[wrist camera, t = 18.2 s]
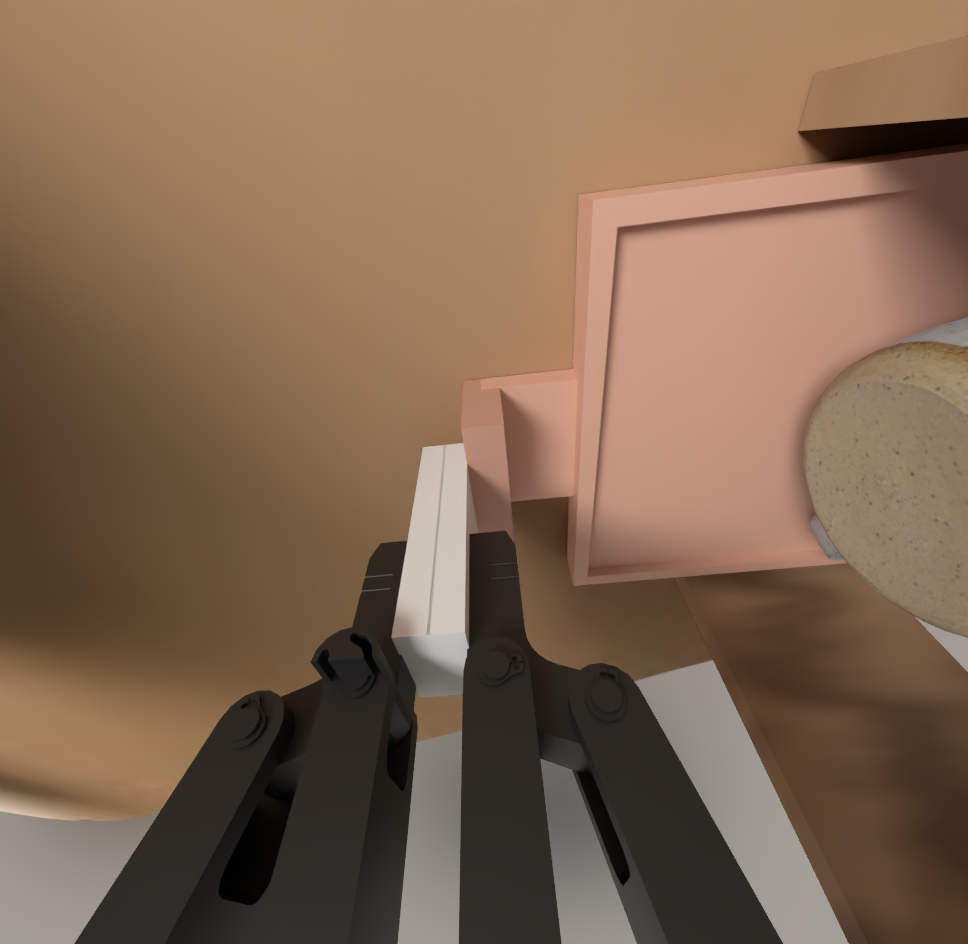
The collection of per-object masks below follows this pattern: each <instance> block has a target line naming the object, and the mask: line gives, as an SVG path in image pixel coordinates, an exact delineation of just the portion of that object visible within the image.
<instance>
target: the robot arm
mask: <svg viewBox="0 0 968 944" xmlns="http://www.w3.org/2000/svg"><path fill="white" fill-rule="evenodd" d="M365 576H366V579H364V583H363V587H362V593H361V595H360V599H359V603H358V607H357V611H356V615H355V619H354V623H353V627H352V628H348V629H344V630H340V631H338V632H337V633H335V634H333V635H332V636H330V637H329V638H327V639H326V640H325V641H324V642H323V643H322V645H321V646H320V647H319V648H318V649H317V651H316V652H315V654H314V656H313V658H312V660H311V663H312V665H313V666H314V667H315V669H316V670H317V671H318V672H319V674H320V675H321V676H322V679H321V680H319V681H317V682H315V683H313V684H311V685H309V686H306V687H304V688H301V689H299V690H297V691H294V692H292V693H289V694H287V695H285V696H282V697H280V696H279V695H277V694H275V693H274V692H272V691H270V690H269V691H256V692H254V693H251V694H249V695H246V696H244V697H243V698H241V699H240V700H239V701H237V702H236V703H235V704H234V705H232V706H231V707H230V708H229V709H228V711H227V712H226V713H225V714H224V715H223V717H222V718H221V719H220V720H219V722H218V724H217V725H216V727H215V728H214V730H213V731H212V733H211V734H210V736H209V737H208V739H207V740H206V742H205V744H204V745H203V747H202V748H201V750H200V751H199V753H198V754H197V756H196V757H195V759H194V760H193V762H192V764H191V765H190V767H189V768H188V770H187V771H186V773H185V774H184V776H183V777H182V779H181V780H180V782H179V784H178V785H177V787H176V788H175V790H174V791H173V793H172V794H171V796H170V797H169V799H168V800H167V802H166V804H165V805H164V807H163V808H162V810H161V811H160V813H159V815H158V816H157V817H156V819H155V820H154V822H153V824H152V825H151V827H150V828H149V830H148V831H147V833H146V834H145V836H144V837H143V839H142V841H141V842H140V844H139V845H138V847H137V848H136V850H135V851H134V853H133V854H132V856H131V857H130V859H129V861H128V862H127V864H126V865H125V867H124V868H123V870H122V871H121V873H120V874H119V876H118V877H117V879H116V881H115V882H114V884H113V885H112V887H111V888H110V890H109V892H108V893H107V894H106V896H105V897H104V899H103V901H102V902H101V904H100V905H99V907H98V908H97V910H96V911H95V913H94V915H93V916H92V917H91V919H90V921H89V922H88V924H87V925H86V927H85V928H84V930H83V931H82V933H81V935H80V936H79V938H78V939H77V941H76V942H75V944H397V942H398V931H399V921H400V920H399V919H400V909H401V899H402V888H403V877H404V867H405V857H406V845H407V835H408V824H409V814H410V813H409V812H410V802H411V792H412V781H413V771H414V760H415V750H416V749H415V748H416V739H417V728H418V727H417V716H416V714H415V712H414V702H415V692H416V690H417V692H418V695H419V697H420V698H425V697H438V696H453V695H463V723H462V787H461V850H460V912H459V944H561V936H560V928H559V919H558V910H557V901H556V893H555V884H554V875H553V867H552V859H551V849H550V840H549V831H548V823H547V814H546V805H545V797H544V788H543V779H542V770H541V762H540V758H541V759H544V760H546V761H549V762H552V763H555V764H558V765H561V766H564V767H567V768H569V769H572V770H573V773H574V776H575V779H576V781H577V784H578V787H579V789H580V792H581V795H582V797H583V800H584V803H585V805H586V808H587V811H588V813H589V816H590V819H591V821H592V824H593V827H594V829H595V832H596V835H597V837H598V840H599V843H600V845H601V848H602V851H603V853H604V856H605V859H606V861H607V864H608V867H609V869H610V872H611V875H612V877H613V880H614V883H615V885H616V888H617V890H618V894H619V896H620V899H621V901H622V904H623V907H624V910H625V912H626V914H627V917H628V920H629V923H630V925H631V928H632V931H633V934H634V936H635V939H636V941H637V944H783V943H782V941H781V939H780V937H779V936H778V934H777V932H776V930H775V929H774V927H773V925H772V923H771V921H770V920H769V918H768V916H767V914H766V913H765V911H764V909H763V907H762V905H761V904H760V902H759V900H758V898H757V897H756V895H755V893H754V891H753V890H752V888H751V886H750V884H749V882H748V881H747V879H746V877H745V875H744V874H743V872H742V870H741V868H740V867H739V865H738V863H737V861H736V859H735V858H734V856H733V854H732V852H731V851H730V849H729V847H728V845H727V843H726V842H725V840H724V838H723V836H722V835H721V833H720V831H719V829H718V827H717V826H716V824H715V822H714V820H713V819H712V817H711V815H710V814H709V812H708V810H707V808H706V806H705V804H704V803H703V801H702V799H701V797H700V796H699V794H698V792H697V790H696V788H695V787H694V785H693V783H692V781H691V780H690V778H689V776H688V774H687V773H686V771H685V769H684V767H683V765H682V764H681V762H680V760H679V758H678V757H677V755H676V753H675V751H674V749H673V748H672V746H671V744H670V742H669V741H668V739H667V737H666V735H665V734H664V732H663V730H662V728H661V726H660V725H659V723H658V721H657V719H656V718H655V716H654V714H653V712H652V710H651V709H650V707H649V705H648V703H647V702H646V700H645V698H644V696H643V695H642V693H641V691H640V689H639V687H638V686H637V685H636V684H635V683H634V681H633V680H632V679H631V677H630V676H629V675H628V674H626V673H625V672H623V671H622V670H620V669H619V668H617V667H615V666H611V665H607V664H603V663H599V664H591V665H588V666H586V667H584V668H583V669H581V670H577V669H573V668H570V667H566V666H562V665H558V664H555V663H553V662H550V661H548V660H546V659H544V658H543V657H541V656H540V655H538V654H537V652H536V651H535V650H534V649H533V648H532V647H531V645H530V643H529V641H528V640H527V637H526V633H525V628H524V619H523V610H522V602H521V593H520V584H519V575H518V567H517V558H516V549H515V544H514V542H513V541H512V539H511V538H510V536H509V535H508V533H507V532H506V531H495V532H485V533H478V526H477V520H476V514H475V508H474V502H473V496H472V490H471V485H470V479H469V473H468V467H467V461H466V455H465V449H464V443H459V444H449V445H439V446H430V447H423V451H422V457H421V463H420V469H419V475H418V481H417V487H416V493H415V499H414V505H413V511H412V517H411V523H410V529H409V535H408V541H400V542H389V543H381V544H380V545H379V547H378V548H377V549H376V551H375V552H374V553H373V555H372V556H371V558H370V560H369V564H368V568H367V571H366V575H365Z"/></svg>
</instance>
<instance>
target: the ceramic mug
mask: <svg viewBox="0 0 968 944" xmlns="http://www.w3.org/2000/svg"><path fill="white" fill-rule="evenodd" d="M803 468H804V475H805V481H806V487H807V490H808V493H809V496H810V499H811V503H812V506H813V509H814V512H815V513H816V514H815V515H814V516H813V517H812V519H810V527H811V529H812V531H813V533H814V535H815V538H816V540H817V542H818V544H819V546H820V547H821V549H822V550H823V552H824V553H825V555H826V556H827V557H828V559H829V560H845V561H846V562H847V564H848V565H849V566H850V567H851V568H852V570H853V571H854V572H855V573H856V574H857V575H858V576H859V577H860V578H861V579H862V580H864V581H865V582H866V583H867V584H868V585H869V586H870V587H871V588H872V589H873V590H875V591H876V592H878V593H879V594H880V595H882V596H883V597H885V598H886V599H887V600H889V601H890V602H892V603H893V604H894V605H896V606H897V607H899V608H900V609H901V610H903V611H905V612H907V613H909V614H911V615H913V616H915V617H917V618H919V619H921V620H923V621H925V622H927V623H929V624H931V625H933V626H935V627H938V628H940V629H942V630H944V631H948V632H951V633H954V634H958V635H961V636H964V637H968V317H966V318H963V319H959V320H956V321H953V322H949V323H946V324H943V325H939V326H936V327H933V328H929V329H926V330H923V331H920V332H918V333H916V334H913V335H911V336H909V337H907V338H904V339H902V340H900V341H897V342H895V343H893V344H890V345H888V346H886V347H883V348H881V349H879V350H876V351H874V352H873V353H871V354H869V355H867V356H865V357H864V358H862V359H860V360H858V361H857V362H855V363H853V364H851V365H850V366H849V367H847V368H846V369H845V370H844V371H842V373H841V374H840V375H839V376H838V377H837V378H836V379H835V380H834V381H833V382H832V383H831V384H830V385H829V386H828V387H827V388H826V389H825V391H824V392H823V394H822V395H821V397H820V399H819V400H818V402H817V404H816V406H815V407H814V409H813V411H812V414H811V416H810V419H809V422H808V425H807V429H806V435H805V441H804V447H803Z"/></svg>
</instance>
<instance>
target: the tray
mask: <svg viewBox="0 0 968 944" xmlns="http://www.w3.org/2000/svg"><path fill="white" fill-rule="evenodd" d="M966 317H968V143H967V144H960V145H952V146H945V147H937V148H930V149H922V150H914V151H907V152H899V153H892V154H884V155H877V156H869V157H861V158H854V159H846V160H839V161H831V162H824V163H816V164H808V165H801V166H793V167H786V168H778V169H771V170H763V171H755V172H748V173H740V174H733V175H725V176H718V177H710V178H702V179H695V180H687V181H680V182H672V183H665V184H657V185H649V186H642V187H634V188H627V189H619V190H612V191H604V192H596V193H589V194H581V195H579V198H578V229H577V260H576V291H575V322H574V353H573V369H567V370H558V371H549V372H540V373H531V374H522V375H513V376H504V377H495V378H486V379H477V380H468V381H463V393H462V416H461V432H462V437H463V443H464V449H465V455H466V461H467V467H468V473H469V479H470V485H471V490H472V496H473V502H474V508H475V514H476V520H477V526H478V532H479V533H485V532H495V531H506V532H507V533H508V535H509V536H510V538H511V539H512V541H513V542H514V531H513V520H512V509H511V502H515V501H525V500H536V499H546V498H557V497H568V496H569V508H568V539H567V561H568V565H569V569H570V574H571V578H572V582H573V586H580V585H592V584H604V583H616V582H628V581H640V580H652V579H664V578H676V577H688V576H700V575H711V574H723V573H735V572H747V571H759V570H771V569H783V568H795V567H807V566H819V565H831V564H843V563H847V562H846V561H845V560H829V559H828V557H827V556H826V555H825V553H824V552H823V550H822V549H821V547H820V546H819V544H818V542H817V540H816V538H815V535H814V533H813V531H812V529H811V527H810V519H812V517H813V516H814V515H815V514H816V513H815V512H814V509H813V506H812V503H811V499H810V496H809V493H808V490H807V487H806V481H805V475H804V468H803V447H804V441H805V435H806V429H807V425H808V422H809V419H810V416H811V414H812V411H813V409H814V407H815V406H816V404H817V402H818V400H819V399H820V397H821V395H822V394H823V392H824V391H825V389H826V388H827V387H828V386H829V385H830V384H831V383H832V382H833V381H834V380H835V379H836V378H837V377H838V376H839V375H840V374H841V373H842V371H844V370H845V369H846V368H847V367H849V366H850V365H851V364H853V363H855V362H857V361H858V360H860V359H862V358H864V357H865V356H867V355H869V354H871V353H873V352H874V351H876V350H879V349H881V348H883V347H886V346H888V345H890V344H893V343H895V342H897V341H900V340H902V339H904V338H907V337H909V336H911V335H913V334H916V333H918V332H920V331H923V330H926V329H929V328H933V327H936V326H939V325H943V324H946V323H949V322H953V321H956V320H959V319H963V318H966ZM514 544H515V542H514Z"/></svg>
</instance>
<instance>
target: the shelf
mask: <svg viewBox="0 0 968 944" xmlns="http://www.w3.org/2000/svg"><path fill="white" fill-rule="evenodd" d="M964 117H968V36H964V37H960V38H956V39H952V40H948V41H944V42H939V43H935V44H931V45H927V46H923V47H919V48H915V49H911V50H907V51H903V52H899V53H895V54H891V55H887V56H883V57H878V58H874V59H870V60H866V61H862V62H858V63H854V64H850V65H846V66H842V67H838V68H834V69H830V70H826V71H822V72H818V73H815V76H814V79H813V82H812V86H811V89H810V93H809V96H808V100H807V103H806V107H805V110H804V113H803V117H802V120H801V124H800V127H799V131H804V130H816V129H829V128H841V127H853V126H866V125H878V124H890V123H903V122H915V121H927V120H940V119H952V118H964ZM674 579H675V581H676V583H677V585H678V588H679V590H680V592H681V594H682V596H683V598H684V600H685V602H686V604H687V606H688V608H689V611H690V613H691V615H692V617H693V619H694V621H695V623H696V625H697V627H698V629H699V631H700V634H701V636H702V638H703V640H704V642H705V644H706V646H707V648H708V650H709V652H710V654H711V657H712V659H713V661H714V663H715V665H716V667H717V669H718V671H719V673H720V675H721V677H722V680H723V682H724V683H725V685H726V688H727V690H728V692H729V694H730V696H731V698H732V700H733V702H734V705H735V707H736V709H737V711H738V713H739V715H740V717H741V719H742V721H743V723H744V725H745V727H746V730H747V732H748V734H749V736H750V738H751V740H752V742H753V744H754V746H755V749H756V750H757V753H758V755H759V757H760V759H761V761H762V763H763V765H764V767H765V769H766V771H767V774H768V776H769V778H770V779H771V782H772V784H773V786H774V788H775V790H776V792H777V794H778V797H779V798H780V801H781V803H782V805H783V807H784V809H785V811H786V813H787V815H788V818H789V819H790V822H791V824H792V826H793V828H794V830H795V832H796V834H797V836H798V838H799V841H800V843H801V845H802V846H803V849H804V851H805V853H806V855H807V857H808V859H809V861H810V863H811V865H812V868H813V870H814V872H815V874H816V876H817V878H818V880H819V882H820V884H821V886H822V888H823V890H824V893H825V895H826V897H827V899H828V901H829V903H830V905H831V907H832V909H833V912H834V914H835V916H836V918H837V920H838V922H839V924H840V926H841V928H842V930H843V932H844V934H845V937H846V939H847V941H848V943H849V944H968V672H967V671H966V670H965V669H964V668H963V667H962V666H961V665H960V664H959V663H958V662H957V661H956V660H955V659H954V658H953V657H952V656H951V655H950V653H949V652H948V651H947V650H946V649H945V648H944V647H943V646H942V645H941V644H940V643H939V642H938V641H937V640H936V639H935V638H934V637H933V636H932V635H931V634H930V633H929V632H928V631H927V630H926V628H925V627H924V626H923V625H922V624H921V623H920V622H919V621H918V620H917V619H916V618H915V617H914V616H913V615H911V614H909V613H907V612H905V611H903V610H901V609H900V608H899V607H897V606H896V605H894V604H893V603H892V602H890V601H889V600H887V599H886V598H885V597H883V596H882V595H880V594H879V593H878V592H876V591H875V590H873V589H872V588H871V587H870V586H869V585H868V584H867V583H866V582H865V581H864V580H862V579H861V578H860V577H859V576H858V575H857V574H856V573H855V572H854V571H853V570H852V568H851V567H850V566H849V565H848V564H847V563H843V564H831V565H819V566H807V567H795V568H783V569H771V570H759V571H747V572H735V573H723V574H711V575H700V576H688V577H676V578H674Z"/></svg>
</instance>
